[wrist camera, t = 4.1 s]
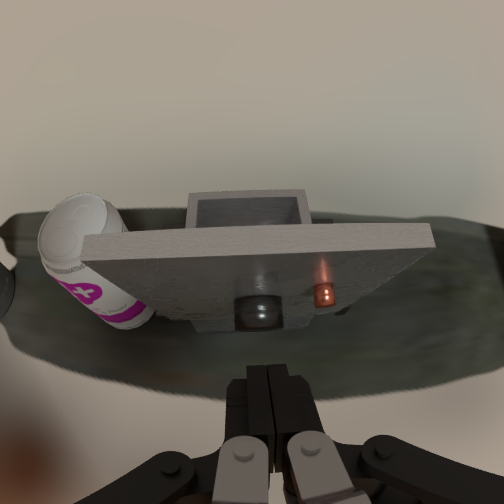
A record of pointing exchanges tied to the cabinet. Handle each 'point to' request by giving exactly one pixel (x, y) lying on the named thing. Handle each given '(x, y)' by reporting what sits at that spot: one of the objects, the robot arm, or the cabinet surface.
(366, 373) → the cabinet surface
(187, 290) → the lid
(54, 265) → the supplement can
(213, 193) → the grey open box
